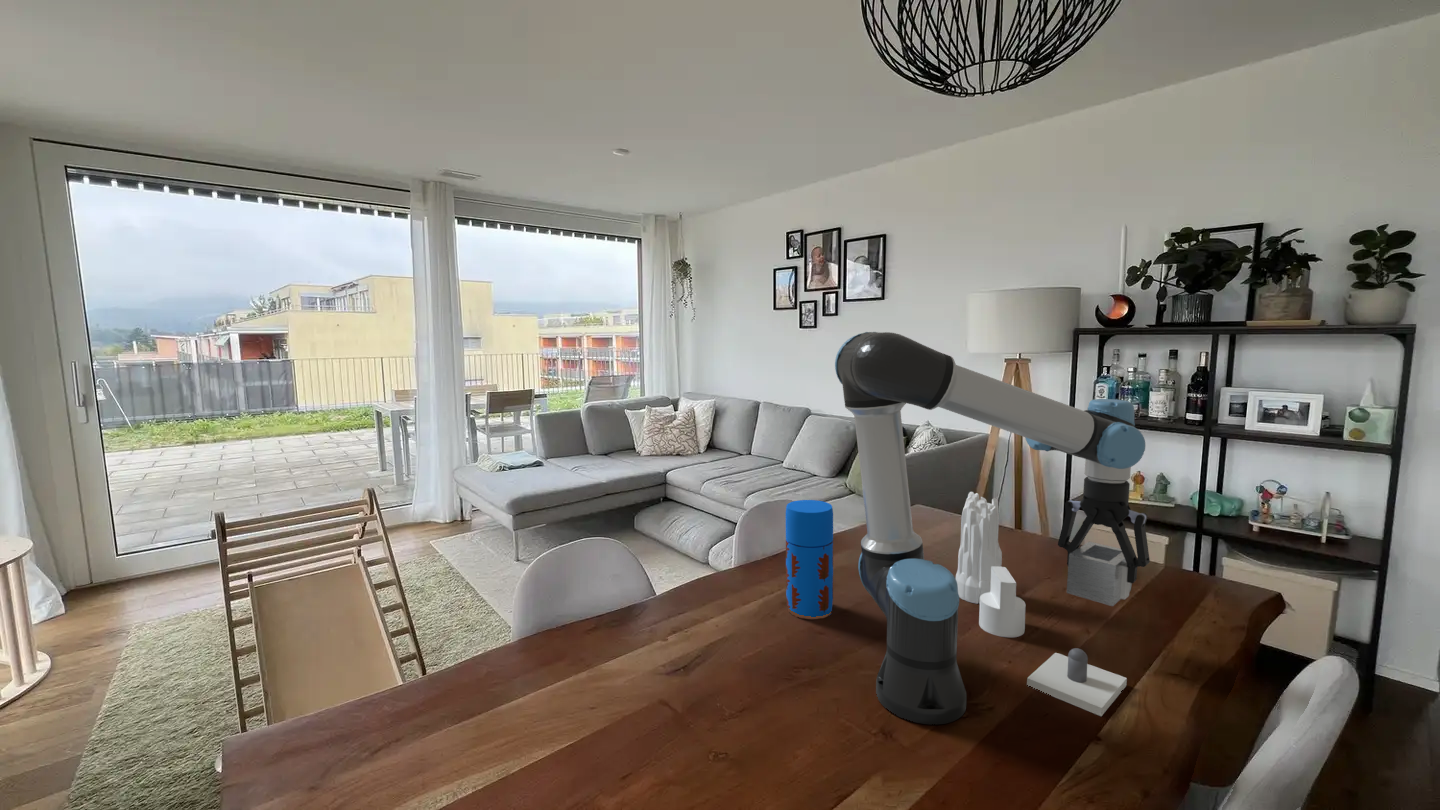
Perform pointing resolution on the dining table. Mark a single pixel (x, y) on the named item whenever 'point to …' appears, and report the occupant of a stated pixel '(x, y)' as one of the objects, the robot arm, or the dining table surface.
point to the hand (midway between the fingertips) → (1099, 589)
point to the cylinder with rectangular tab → (1002, 606)
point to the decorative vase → (978, 547)
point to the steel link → (1096, 573)
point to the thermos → (809, 557)
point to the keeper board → (1077, 681)
